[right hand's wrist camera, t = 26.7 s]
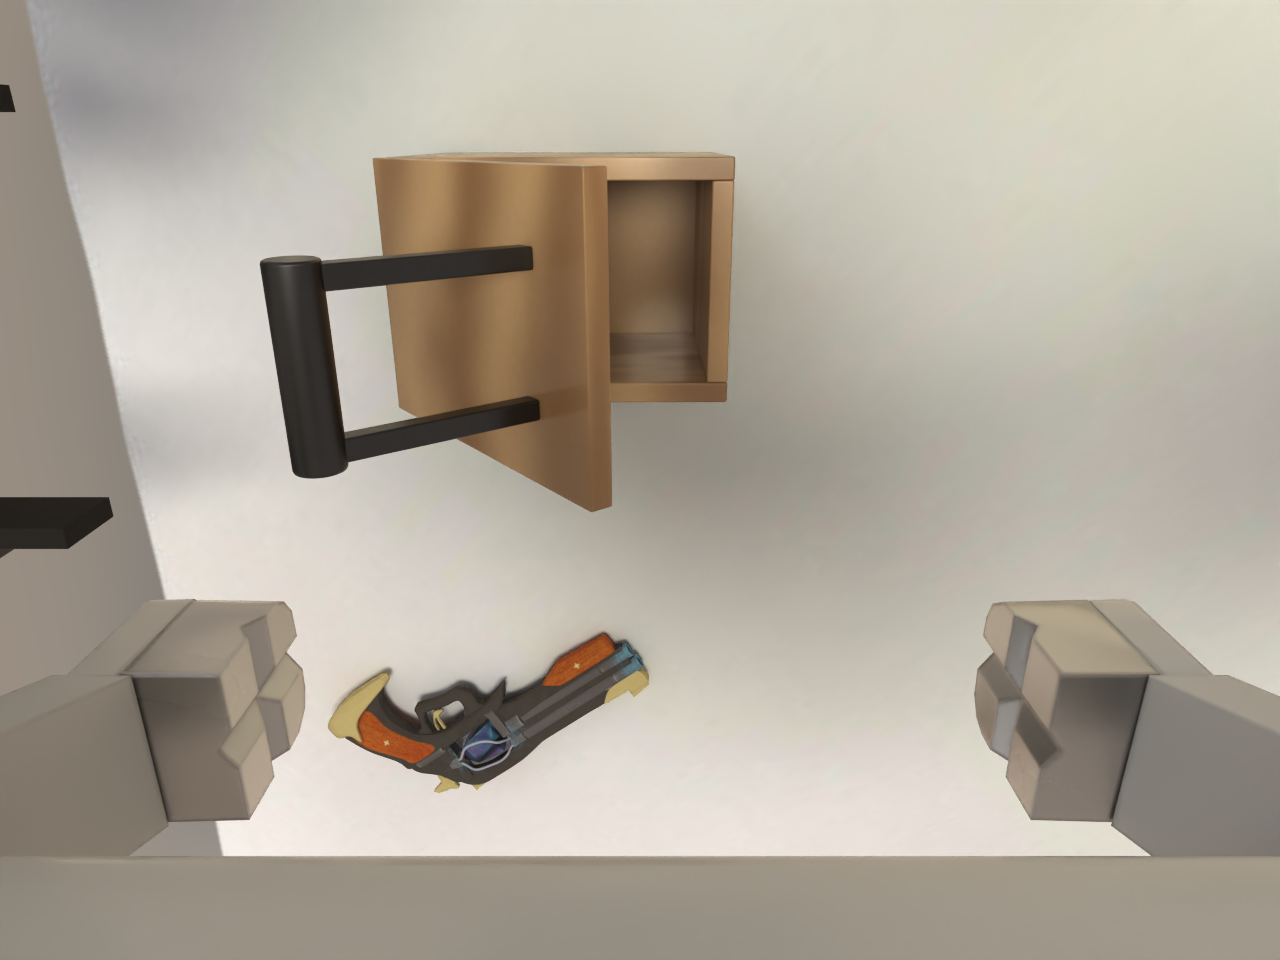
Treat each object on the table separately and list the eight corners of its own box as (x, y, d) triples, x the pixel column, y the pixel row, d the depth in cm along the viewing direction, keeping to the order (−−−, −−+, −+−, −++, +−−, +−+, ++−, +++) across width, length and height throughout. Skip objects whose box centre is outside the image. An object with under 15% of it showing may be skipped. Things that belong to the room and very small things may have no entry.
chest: (712, 152, 44) (735, 156, 34) (707, 345, 48) (726, 402, 38) (445, 152, 44) (385, 157, 34) (460, 345, 48) (410, 403, 38)
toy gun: (312, 725, 54) (410, 842, 56) (561, 563, 52) (655, 691, 53) (327, 704, 57) (421, 816, 59) (565, 548, 54) (654, 671, 56)
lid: (607, 165, 23) (286, 173, 19) (612, 506, 27) (345, 587, 22) (392, 157, 34) (150, 161, 29) (417, 404, 37) (205, 444, 33)
